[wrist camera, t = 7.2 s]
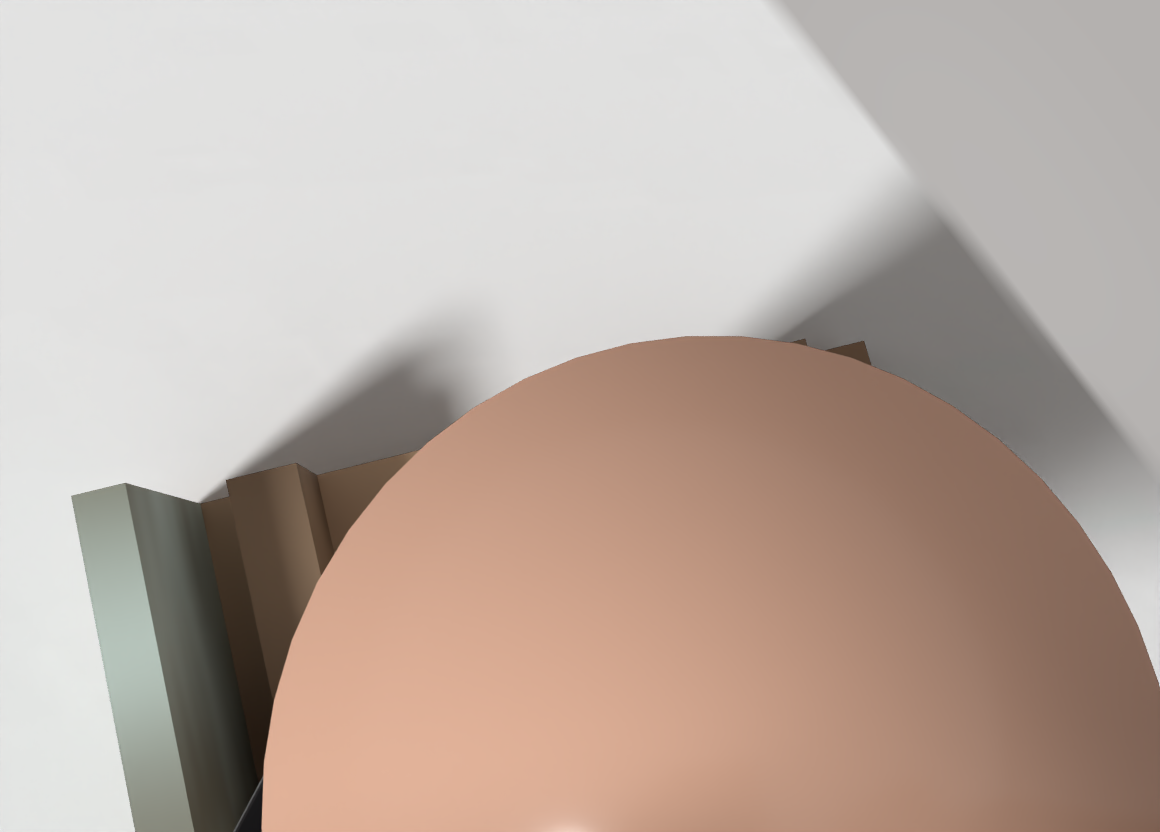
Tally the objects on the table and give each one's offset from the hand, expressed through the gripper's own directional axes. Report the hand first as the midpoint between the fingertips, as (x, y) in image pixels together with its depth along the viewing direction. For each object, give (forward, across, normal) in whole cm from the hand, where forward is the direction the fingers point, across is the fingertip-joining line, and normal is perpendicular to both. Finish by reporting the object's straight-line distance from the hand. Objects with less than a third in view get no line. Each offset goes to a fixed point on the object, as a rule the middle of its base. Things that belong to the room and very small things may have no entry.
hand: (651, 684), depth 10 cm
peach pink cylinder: (+4, 0, +5) cm, 7 cm away
